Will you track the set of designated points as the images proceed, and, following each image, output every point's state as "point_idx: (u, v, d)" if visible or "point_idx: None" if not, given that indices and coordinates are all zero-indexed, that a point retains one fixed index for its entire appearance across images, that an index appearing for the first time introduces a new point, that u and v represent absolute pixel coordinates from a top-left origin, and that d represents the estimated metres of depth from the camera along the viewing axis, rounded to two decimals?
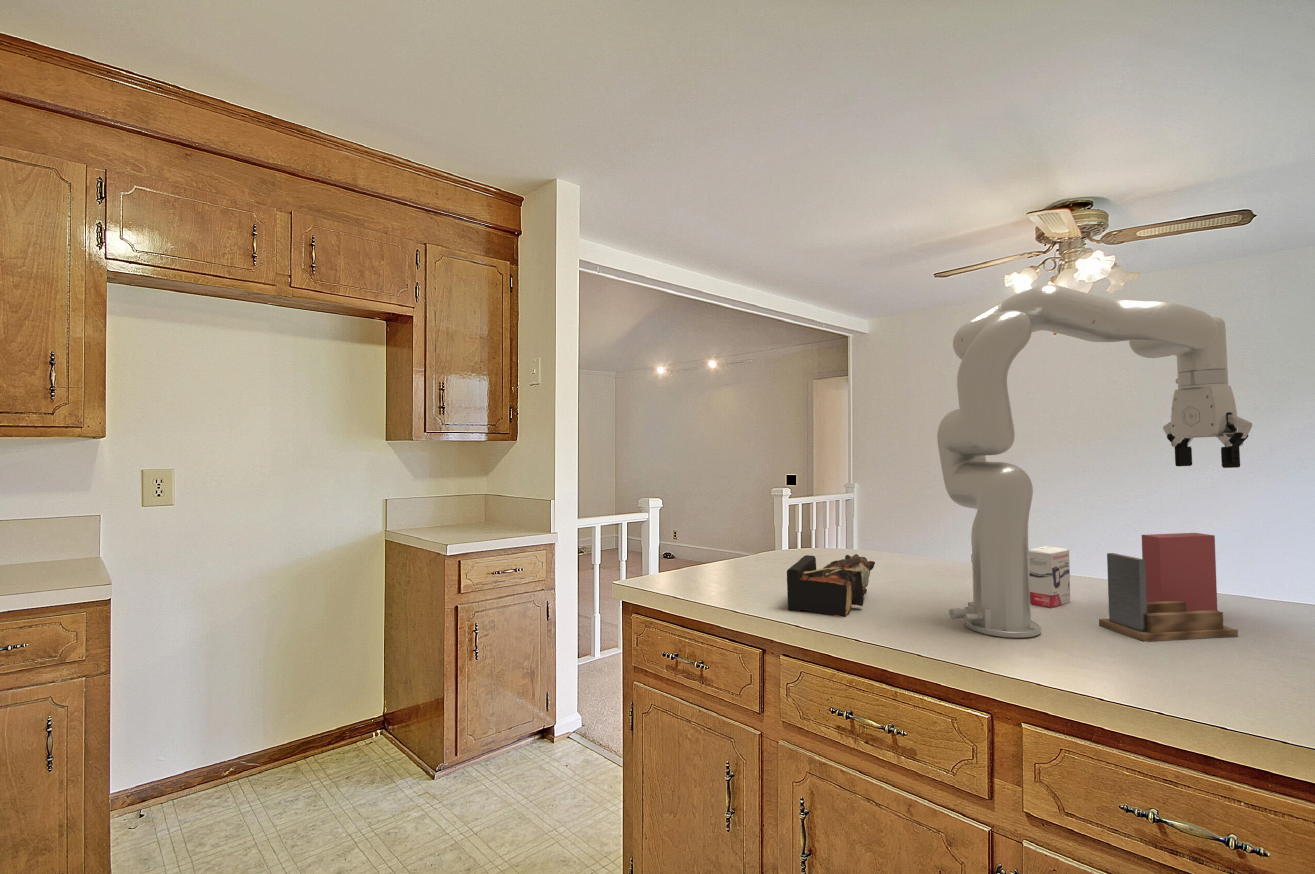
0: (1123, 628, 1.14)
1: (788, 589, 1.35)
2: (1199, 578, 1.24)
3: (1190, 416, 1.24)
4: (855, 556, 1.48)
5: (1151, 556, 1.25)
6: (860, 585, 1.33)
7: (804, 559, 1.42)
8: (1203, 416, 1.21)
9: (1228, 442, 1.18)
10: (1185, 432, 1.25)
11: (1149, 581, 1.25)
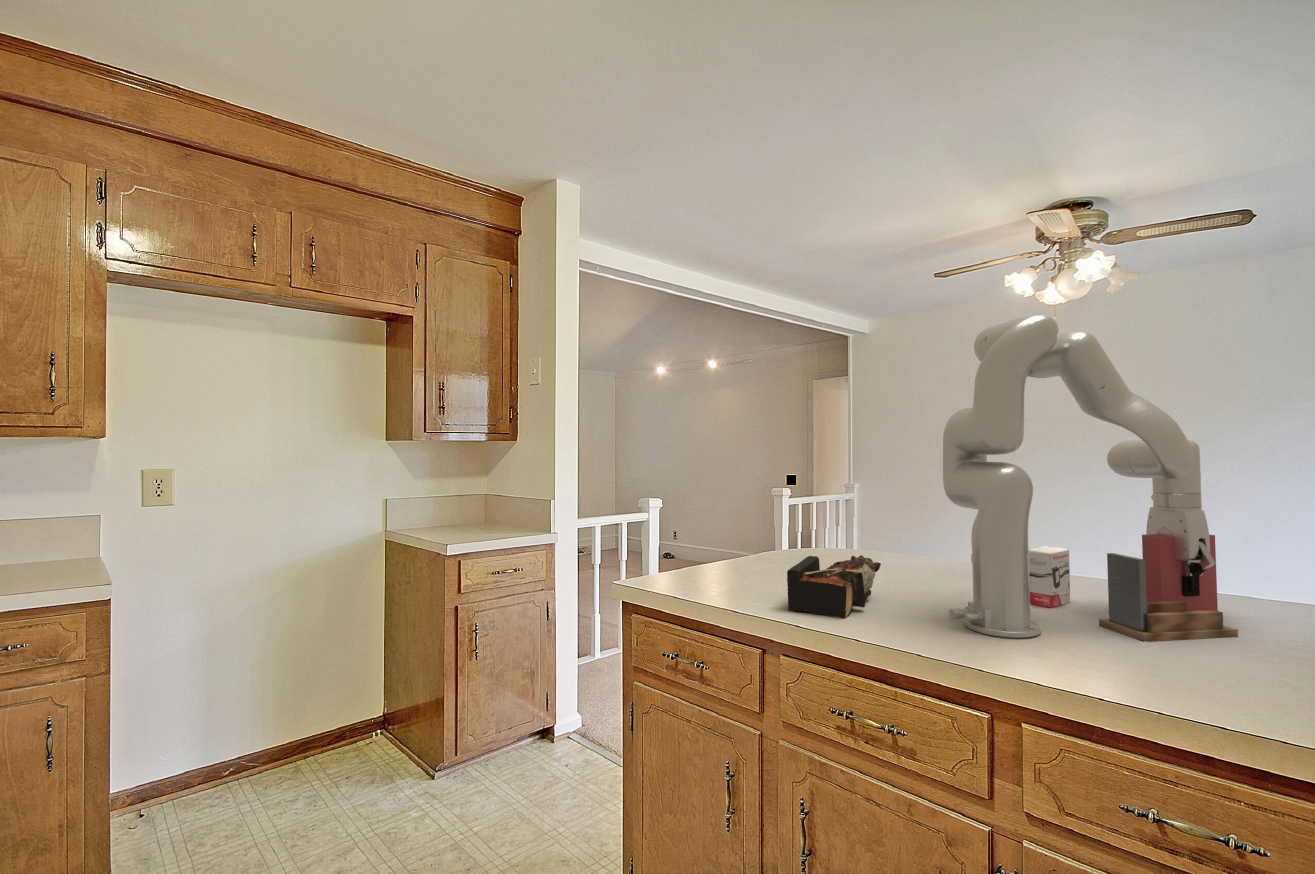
0: (1123, 628, 1.14)
1: (788, 590, 1.34)
2: (1199, 578, 1.24)
3: None
4: (860, 557, 1.47)
5: (1151, 555, 1.25)
6: (861, 586, 1.32)
7: (806, 560, 1.41)
8: (1177, 539, 1.23)
9: (1189, 573, 1.22)
10: None
11: (1149, 581, 1.25)
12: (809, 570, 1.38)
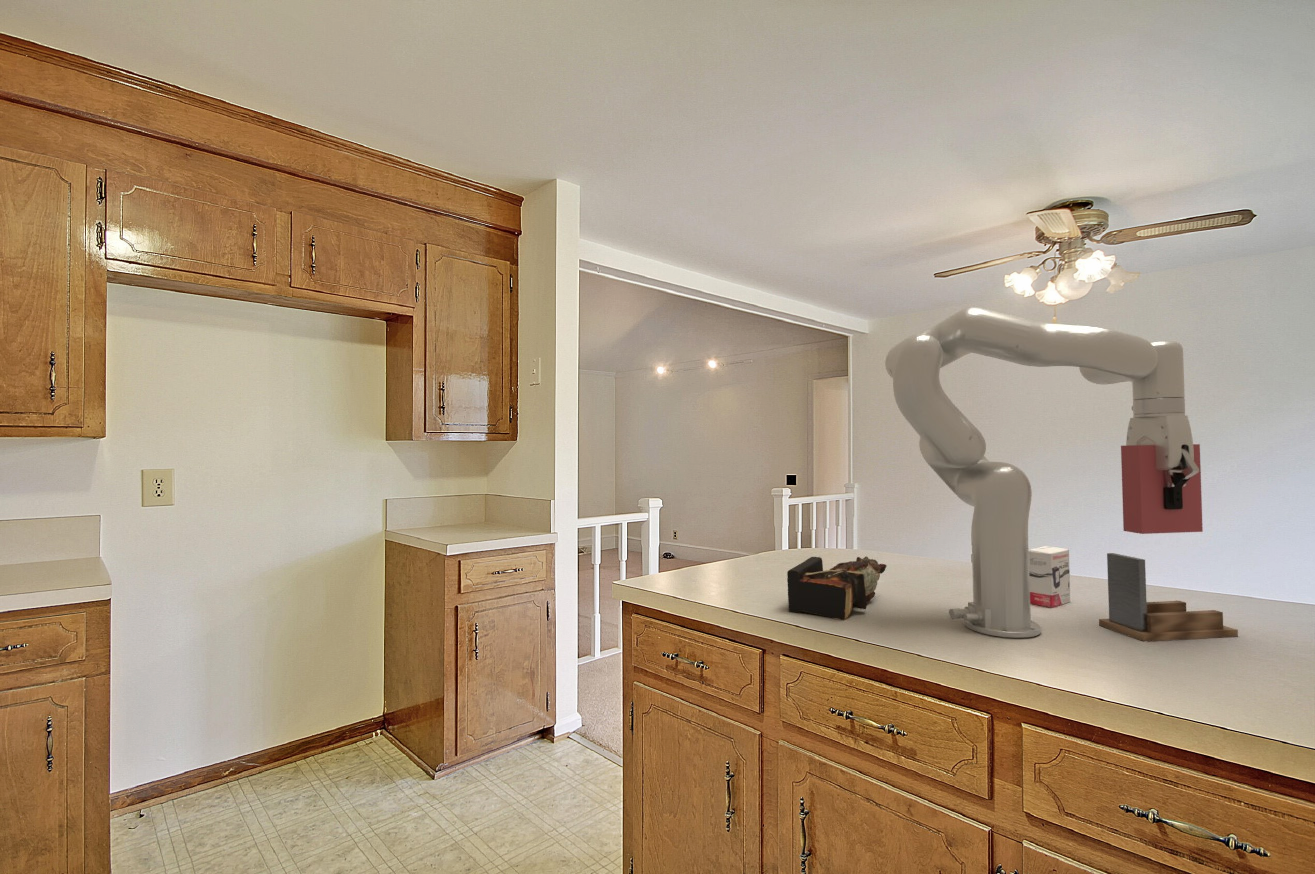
0: (1123, 628, 1.14)
1: (788, 590, 1.34)
2: (1183, 490, 1.14)
3: None
4: (865, 558, 1.45)
5: (1131, 467, 1.15)
6: (863, 588, 1.31)
7: (809, 560, 1.40)
8: (1158, 447, 1.13)
9: (1171, 483, 1.12)
10: None
11: (1128, 494, 1.15)
12: (811, 571, 1.37)
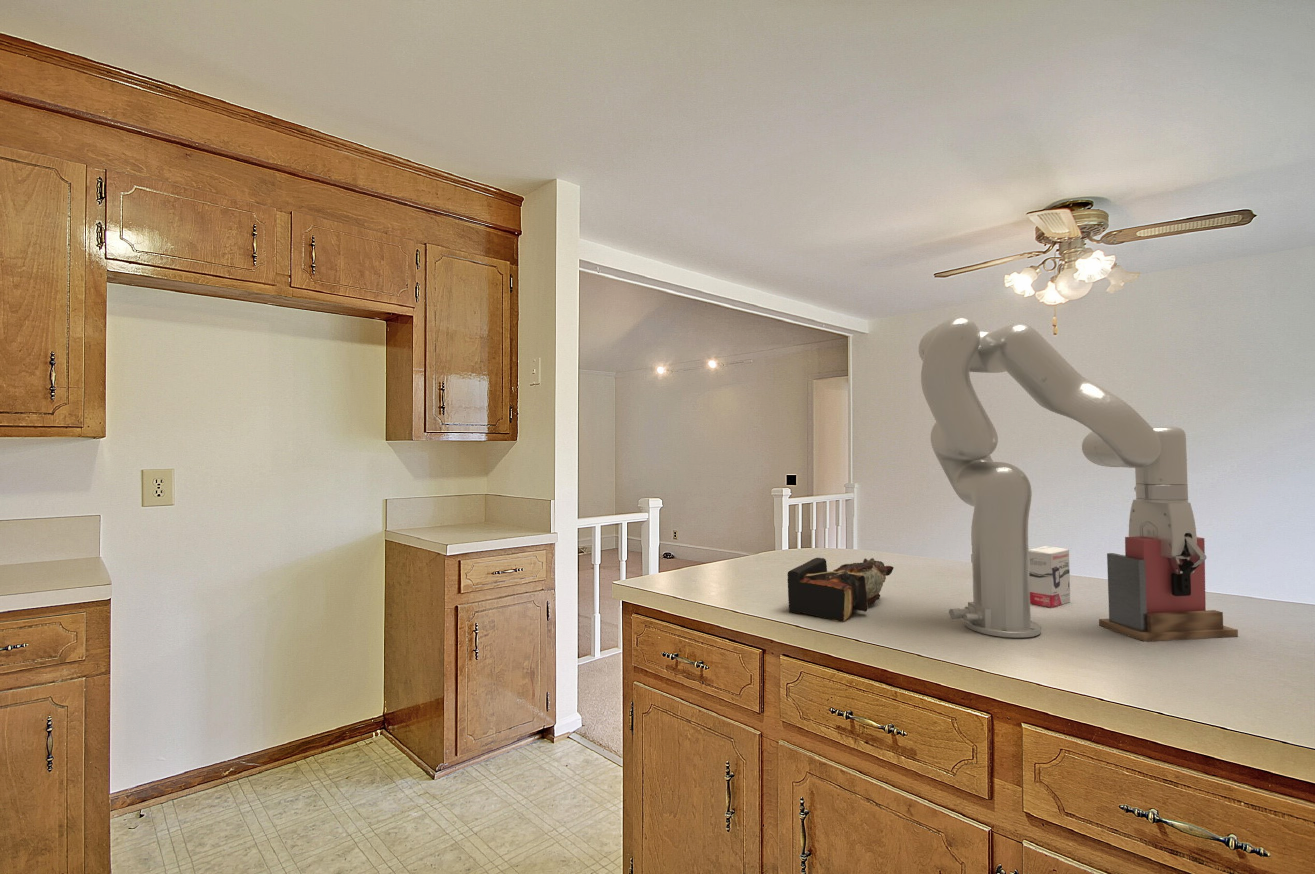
0: (1123, 628, 1.14)
1: (789, 591, 1.33)
2: None
3: (1147, 531, 1.15)
4: (871, 560, 1.43)
5: None
6: (864, 590, 1.29)
7: (812, 561, 1.39)
8: (1161, 534, 1.13)
9: (1179, 570, 1.11)
10: None
11: None
12: (812, 572, 1.36)
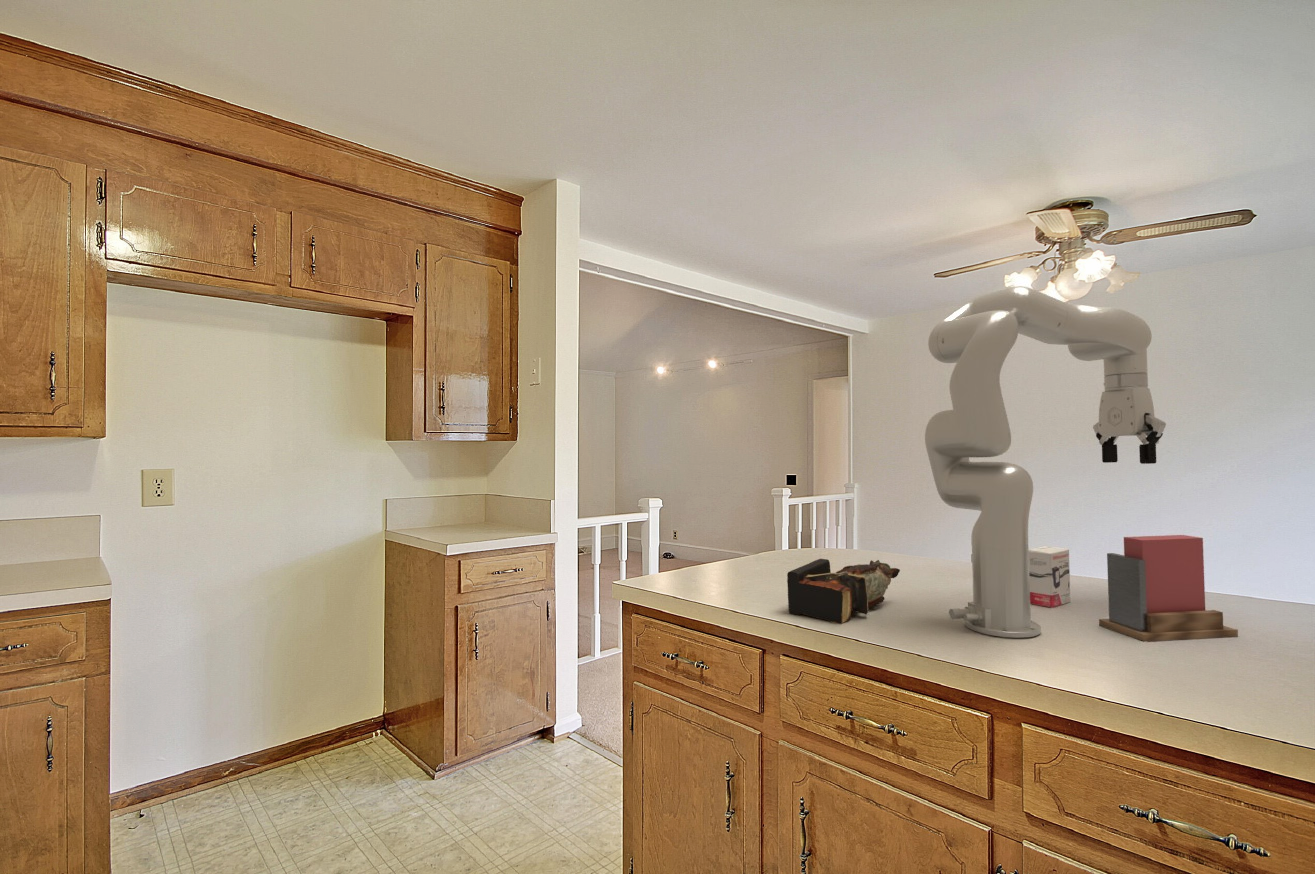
0: (1123, 628, 1.14)
1: (788, 592, 1.32)
2: (1186, 584, 1.13)
3: (1113, 416, 1.34)
4: (876, 562, 1.40)
5: None
6: (864, 592, 1.27)
7: (814, 562, 1.38)
8: (1124, 416, 1.32)
9: (1145, 440, 1.29)
10: (1110, 431, 1.36)
11: None
12: (814, 573, 1.35)
